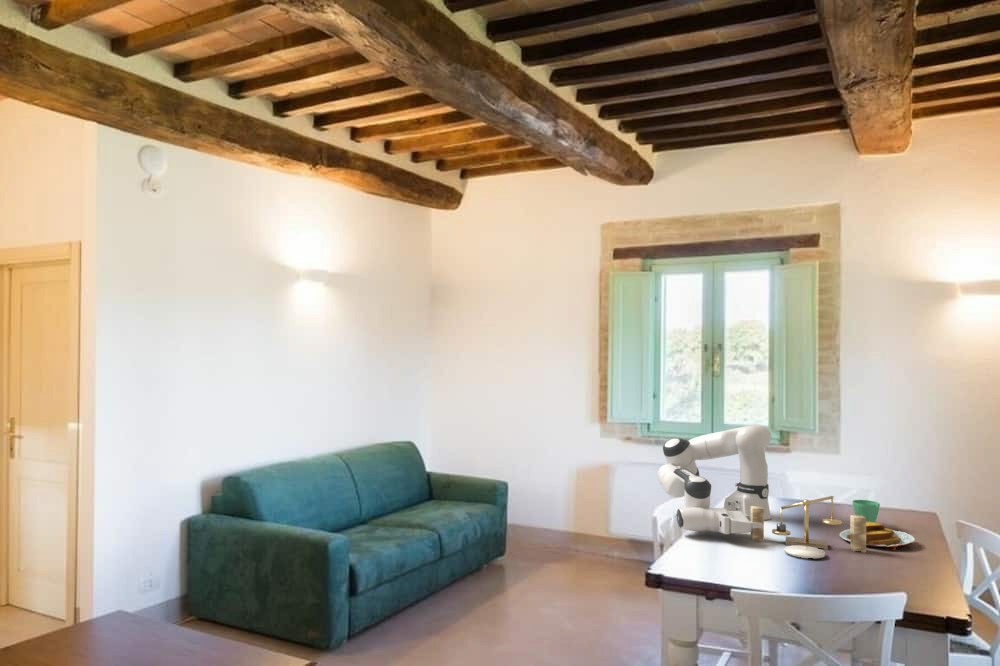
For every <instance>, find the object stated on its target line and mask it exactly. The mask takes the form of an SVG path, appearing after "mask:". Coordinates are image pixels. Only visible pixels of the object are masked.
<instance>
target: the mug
mask: <svg viewBox="0 0 1000 666" xmlns="http://www.w3.org/2000/svg"><path fill="white" fill-rule="evenodd" d="M852 507H853V511H854V515H857V516H863V517H865V518H866V521H868V522H876V521H877V519H878V518H877V517H878V514H879V511H880V507H881V504H880V502H878V501H874V500H869V499H853V500H852Z"/></svg>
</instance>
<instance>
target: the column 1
mask: <svg viewBox="0 0 1000 666" xmlns="http://www.w3.org/2000/svg"><path fill="white" fill-rule="evenodd" d="M750 522H761V523H762V524H763V527H762V528H754V529H751V532H750V539H751V541H752V540H755V541H754V542H764V541H765V538H764V537H765V532H764V531H765V527H764V526H765V520H764V509H763V507H759V506H751V521H750Z"/></svg>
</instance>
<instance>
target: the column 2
mask: <svg viewBox="0 0 1000 666" xmlns="http://www.w3.org/2000/svg"><path fill="white" fill-rule="evenodd" d="M849 523H850V524H849V525H850V528H849V529H850V541H849V542H850V548H851V549H852V550H851V549H850V548H849V549H850V550H851V551H853V550H854V551H861V552H860V553H867V545H866V518H865V517H863V516H857V515H855V514H853V515H852V514H850V521H849ZM854 551H853V552H854Z"/></svg>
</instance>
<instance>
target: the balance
mask: <svg viewBox="0 0 1000 666" xmlns="http://www.w3.org/2000/svg"><path fill="white" fill-rule="evenodd" d="M827 500H828V501H829V500H831V502H830V503H831V510H830V511H831V514H830V515H831V517H830V518H823V519H822V523H823V524H826V525H831V526H841V525H843V521H842V520H841V519H835V518H834V495H830V496H825V497H820V498H816V499H812V500H809V499H804V500H803V501H802V502H797V503H793V504H789V505H787V504H786V505H783V506H780V523H776V528H773V529H772V530H771V533H772V534H773V535H777V536H785V546H790V545H800V546H809V547H816V548H824V549H823V550H827V549H828V548H829V545H828V544H829V543H828V540H824V539H823V540H822V539H815V538H810V537H809V536H810V534H809V533H810V532H809V531H810V529H809V528H810V526H809V525H810V521H809V520H810V517H809V515H810V509H809V508H810V507H809V506H810V505H811V504H814V503H815V504H816V503H819V502H824V501H827ZM800 506H803V537H796V536H790V535H791V533H792V532H791V530H788V529H787V524H785V523H783V510H786V509H790V508H795V507H800Z"/></svg>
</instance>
